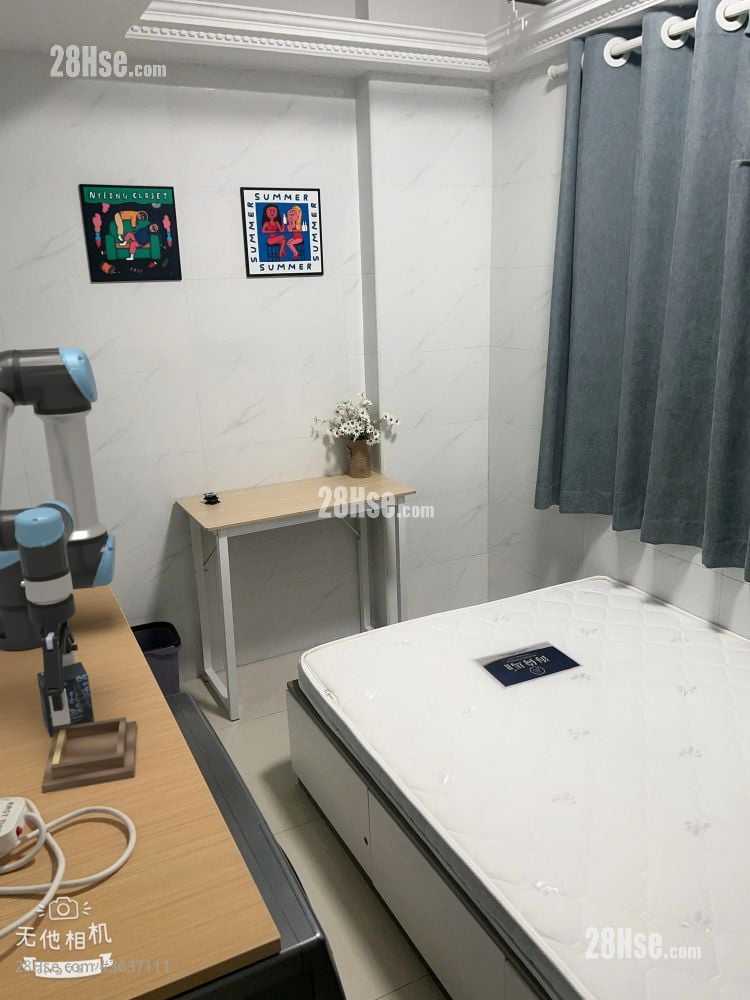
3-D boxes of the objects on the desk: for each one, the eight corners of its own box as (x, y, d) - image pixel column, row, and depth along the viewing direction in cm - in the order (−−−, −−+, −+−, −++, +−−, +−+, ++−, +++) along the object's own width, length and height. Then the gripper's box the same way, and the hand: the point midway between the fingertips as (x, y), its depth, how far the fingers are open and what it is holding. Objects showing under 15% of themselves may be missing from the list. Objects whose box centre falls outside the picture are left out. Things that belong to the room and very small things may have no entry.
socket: (54, 739, 134) (52, 723, 133) (136, 726, 137) (134, 711, 136) (42, 792, 120) (39, 775, 119) (133, 776, 123) (131, 760, 122)
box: (50, 738, 134) (41, 686, 131) (44, 723, 138) (35, 672, 135) (95, 724, 138) (88, 673, 135) (88, 710, 143) (80, 660, 140)
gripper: (37, 573, 142) (53, 673, 148) (13, 630, 118) (33, 746, 125) (80, 568, 143) (93, 667, 149) (64, 624, 120) (81, 738, 126)
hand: (66, 703), depth 137 cm, fingers open, 13 cm apart
